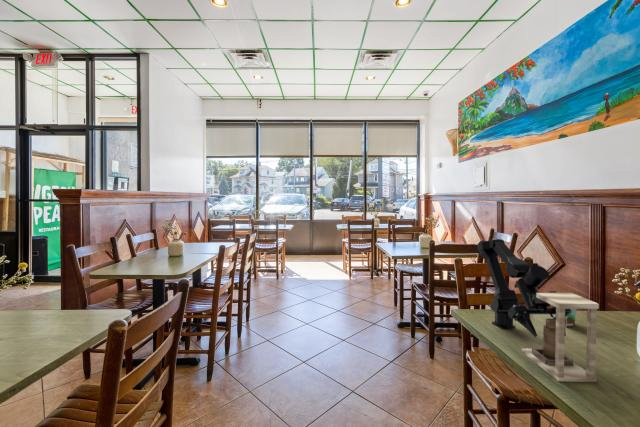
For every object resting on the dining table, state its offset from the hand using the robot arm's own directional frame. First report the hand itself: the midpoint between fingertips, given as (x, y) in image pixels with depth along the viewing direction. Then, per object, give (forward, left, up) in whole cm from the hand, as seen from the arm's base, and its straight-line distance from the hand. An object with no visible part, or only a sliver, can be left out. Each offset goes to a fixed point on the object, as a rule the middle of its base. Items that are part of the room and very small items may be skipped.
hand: (550, 336), depth 102 cm
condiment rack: (+3, -1, -8) cm, 9 cm away
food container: (-24, +34, -9) cm, 43 cm away
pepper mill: (+1, 0, -7) cm, 7 cm away
